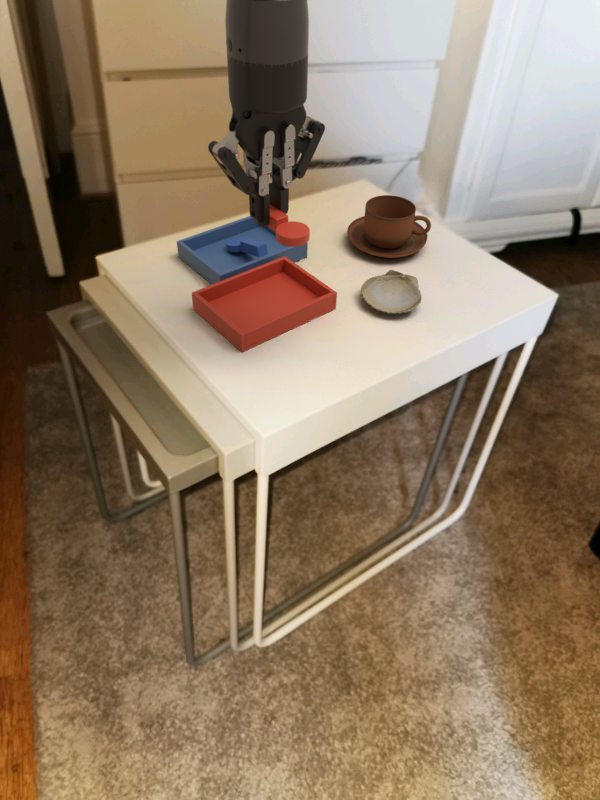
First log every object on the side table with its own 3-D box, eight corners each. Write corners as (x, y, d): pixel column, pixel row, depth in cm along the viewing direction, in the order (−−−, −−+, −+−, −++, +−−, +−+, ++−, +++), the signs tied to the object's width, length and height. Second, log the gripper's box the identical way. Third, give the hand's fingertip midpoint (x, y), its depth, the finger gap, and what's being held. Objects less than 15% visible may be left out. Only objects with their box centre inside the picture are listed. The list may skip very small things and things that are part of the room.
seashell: (354, 316, 87) (406, 327, 82) (349, 298, 85) (402, 308, 80) (385, 281, 91) (435, 289, 86) (381, 263, 89) (433, 270, 84)
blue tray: (220, 292, 87) (219, 275, 85) (178, 257, 93) (176, 241, 91) (307, 257, 94) (308, 241, 92) (262, 226, 100) (262, 211, 98)
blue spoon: (222, 249, 94) (220, 238, 93) (242, 241, 96) (241, 231, 95) (253, 260, 88) (251, 248, 87) (273, 252, 90) (272, 241, 89)
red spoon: (316, 239, 68) (316, 226, 67) (289, 250, 67) (289, 236, 65) (272, 210, 73) (272, 197, 72) (246, 219, 71) (245, 206, 70)
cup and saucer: (414, 223, 102) (420, 186, 98) (434, 263, 94) (442, 225, 89) (340, 226, 101) (343, 189, 97) (354, 267, 92) (357, 228, 88)
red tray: (241, 352, 78) (241, 335, 76) (193, 309, 84) (191, 292, 82) (336, 308, 85) (337, 292, 83) (284, 271, 91) (284, 255, 89)
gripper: (227, 72, 53) (236, 254, 65) (350, 46, 60) (338, 216, 72) (181, 49, 58) (198, 224, 70) (301, 27, 64) (297, 191, 76)
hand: (269, 220), depth 71 cm, fingers closed on red spoon, 1 cm apart
